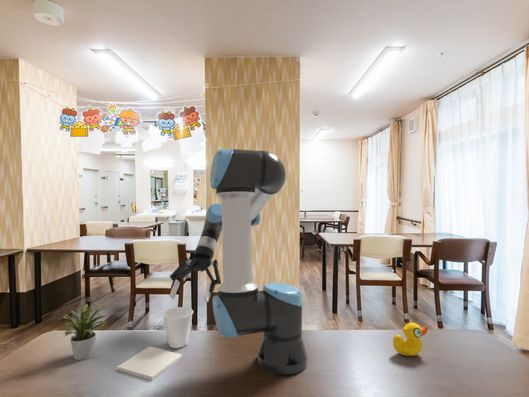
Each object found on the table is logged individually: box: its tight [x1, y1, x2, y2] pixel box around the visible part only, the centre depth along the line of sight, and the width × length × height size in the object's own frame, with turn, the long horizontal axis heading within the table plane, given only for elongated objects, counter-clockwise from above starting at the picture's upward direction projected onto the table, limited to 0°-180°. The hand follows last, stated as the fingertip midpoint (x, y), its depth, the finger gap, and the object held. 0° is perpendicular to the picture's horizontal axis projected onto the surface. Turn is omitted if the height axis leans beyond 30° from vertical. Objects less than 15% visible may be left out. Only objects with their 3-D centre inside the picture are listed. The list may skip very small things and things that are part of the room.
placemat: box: [116, 346, 183, 381], centre depth 97 cm, size 13×13×1 cm
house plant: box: [59, 303, 111, 361], centre depth 99 cm, size 14×14×16 cm
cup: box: [162, 306, 194, 349], centre depth 108 cm, size 10×10×11 cm
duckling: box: [392, 322, 429, 357], centre depth 102 cm, size 11×5×10 cm, turn 98°
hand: (188, 298), depth 117 cm, fingers open, 13 cm apart
